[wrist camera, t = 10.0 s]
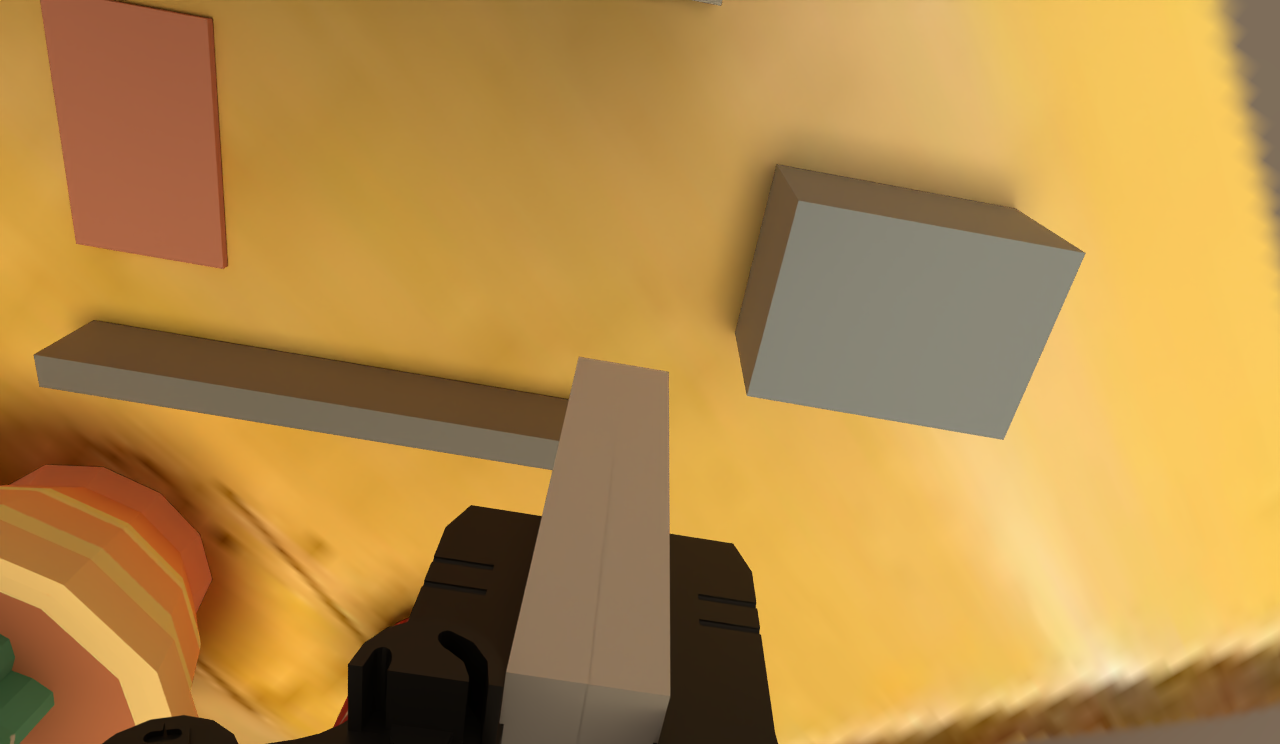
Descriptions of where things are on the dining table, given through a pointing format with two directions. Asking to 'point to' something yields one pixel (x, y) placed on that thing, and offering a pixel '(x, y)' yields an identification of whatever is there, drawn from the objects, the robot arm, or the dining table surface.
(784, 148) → the dining table surface
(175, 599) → the potted cactus
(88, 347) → the track
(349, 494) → the dining table surface
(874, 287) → the block
